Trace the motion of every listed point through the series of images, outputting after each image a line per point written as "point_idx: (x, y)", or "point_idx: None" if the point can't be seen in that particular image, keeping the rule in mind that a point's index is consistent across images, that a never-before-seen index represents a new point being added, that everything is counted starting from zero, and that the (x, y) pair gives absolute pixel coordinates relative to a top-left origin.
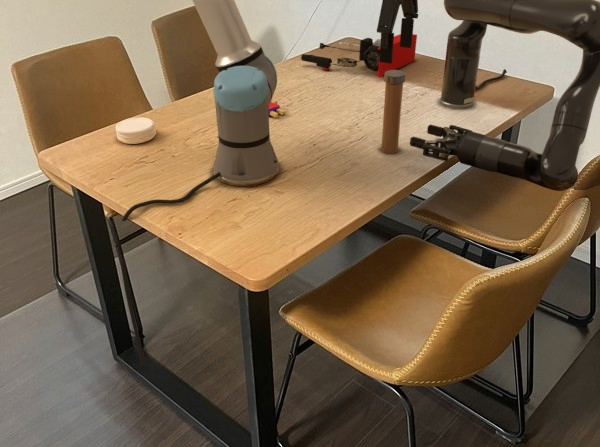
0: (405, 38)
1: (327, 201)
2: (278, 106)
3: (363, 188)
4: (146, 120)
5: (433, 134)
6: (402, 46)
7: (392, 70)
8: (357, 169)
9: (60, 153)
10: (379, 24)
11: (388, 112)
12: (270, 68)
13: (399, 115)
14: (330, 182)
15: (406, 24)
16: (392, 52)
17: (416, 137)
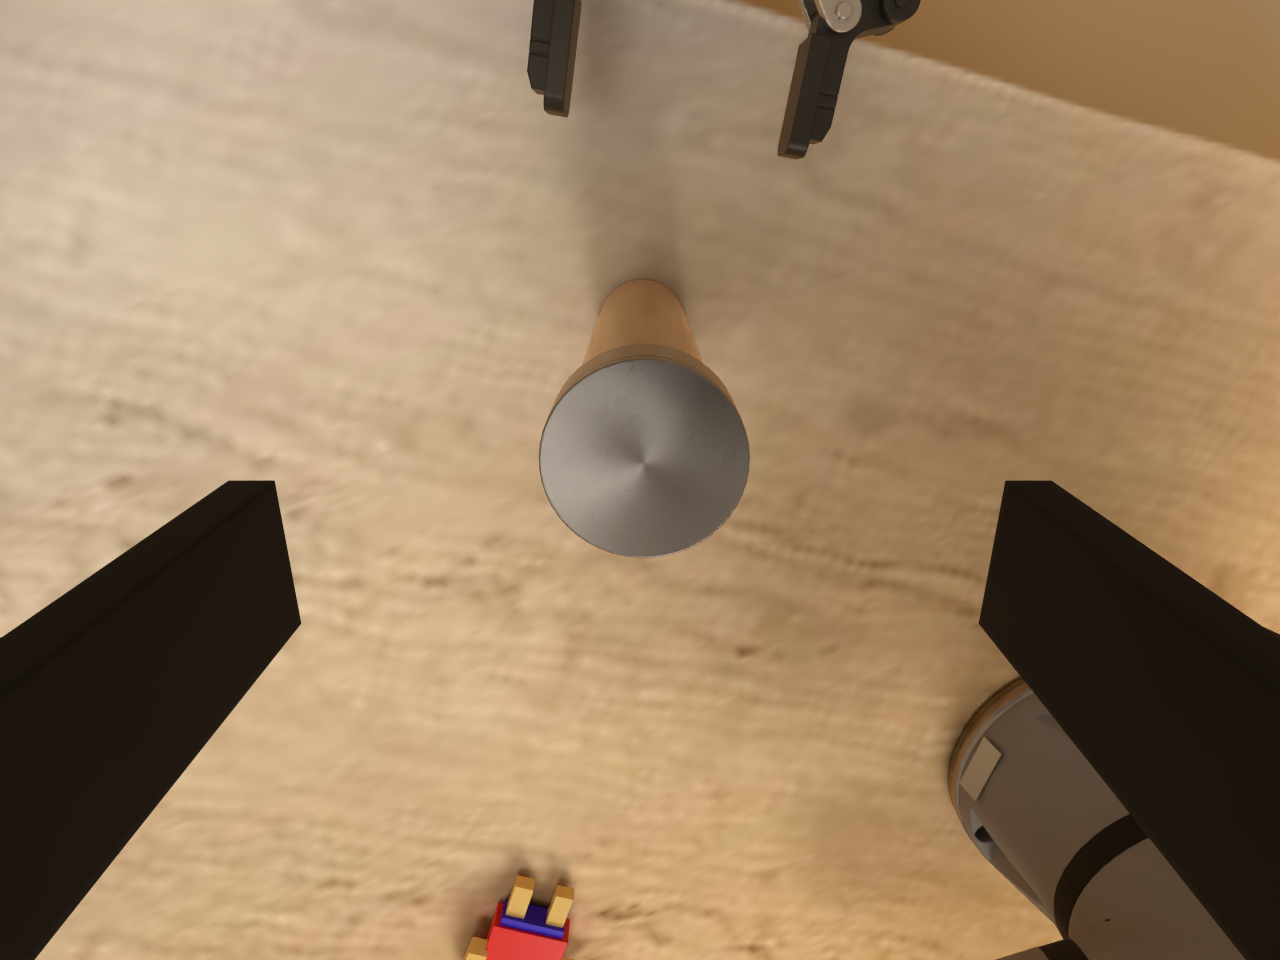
0: (226, 624)
1: (1257, 379)
2: (499, 925)
3: (1097, 280)
4: None
5: (573, 66)
6: (291, 592)
7: (579, 512)
8: (914, 384)
9: None
10: None
11: None
12: None
13: (653, 309)
14: (1079, 441)
15: (64, 792)
16: (1100, 542)
17: (799, 114)
